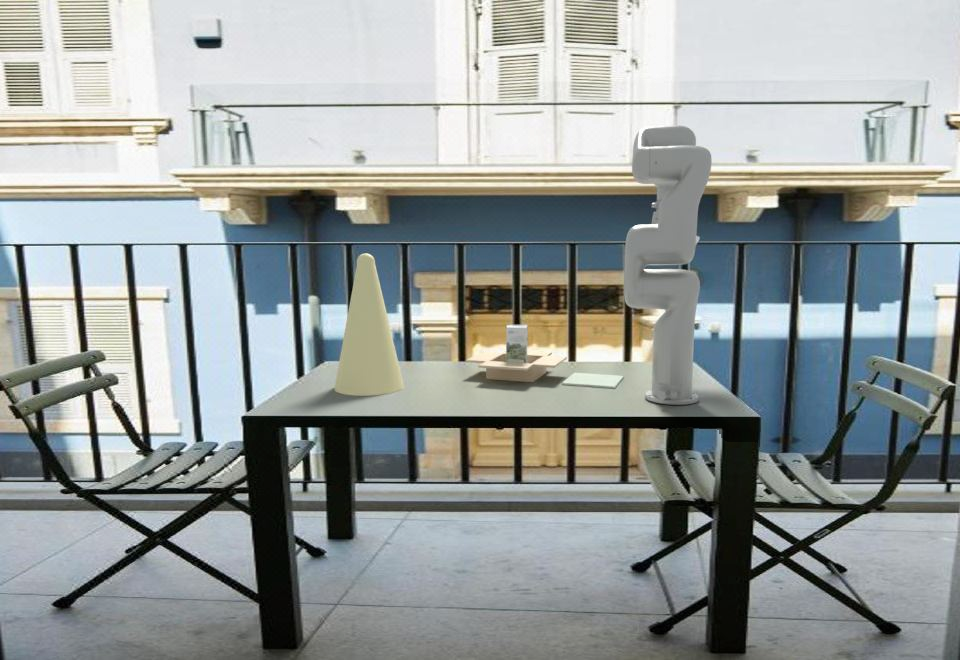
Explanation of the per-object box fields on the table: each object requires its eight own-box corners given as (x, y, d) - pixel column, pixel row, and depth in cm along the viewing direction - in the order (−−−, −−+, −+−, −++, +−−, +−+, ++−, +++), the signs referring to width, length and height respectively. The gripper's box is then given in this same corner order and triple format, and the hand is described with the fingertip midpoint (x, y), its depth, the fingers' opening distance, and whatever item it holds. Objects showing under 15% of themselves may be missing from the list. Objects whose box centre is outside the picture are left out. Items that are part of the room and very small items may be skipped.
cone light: (404, 394, 179) (401, 256, 174) (331, 397, 176) (326, 257, 171) (402, 374, 203) (399, 252, 198) (338, 376, 200) (333, 253, 195)
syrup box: (527, 373, 202) (527, 323, 200) (526, 378, 197) (526, 326, 194) (507, 373, 203) (507, 323, 201) (505, 377, 197) (505, 326, 195)
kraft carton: (548, 388, 183) (548, 369, 183) (458, 381, 192) (457, 363, 192) (571, 369, 207) (571, 353, 206) (489, 364, 216) (489, 348, 215)
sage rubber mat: (614, 388, 183) (614, 386, 183) (562, 384, 188) (562, 382, 188) (623, 377, 196) (623, 375, 196) (574, 374, 201) (574, 372, 201)
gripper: (637, 206, 204) (636, 265, 207) (699, 205, 198) (697, 266, 200) (642, 207, 211) (640, 264, 214) (702, 206, 205) (699, 265, 207)
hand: (668, 265), depth 207 cm, fingers open, 9 cm apart
